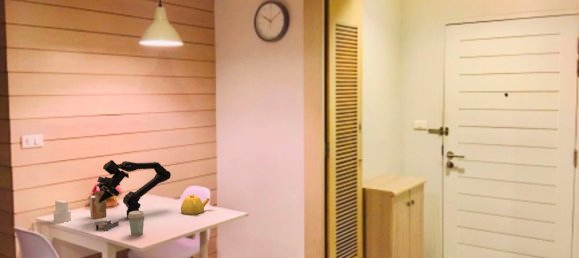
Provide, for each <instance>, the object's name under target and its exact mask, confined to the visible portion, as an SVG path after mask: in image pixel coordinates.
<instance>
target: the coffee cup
mask: <svg viewBox="0 0 579 258" xmlns="http://www.w3.org/2000/svg"><path fill="white" fill-rule="evenodd" d="M145 216H146V214H145V213H144V211H143V210H139V211H132V212H129V215H128V218H129V219H128V218H127V219H128V223H129V229H130V235H131V236H132V237H141V236H142V235H143V234H144V225H145V224H144V222H145Z"/></svg>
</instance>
